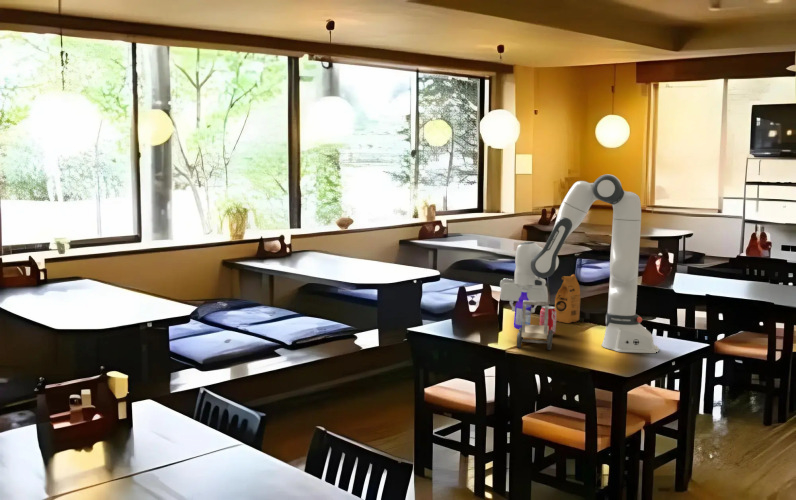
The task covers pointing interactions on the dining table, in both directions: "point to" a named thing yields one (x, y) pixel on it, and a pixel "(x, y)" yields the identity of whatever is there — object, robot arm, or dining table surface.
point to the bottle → (520, 310)
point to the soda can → (549, 318)
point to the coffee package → (568, 300)
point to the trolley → (535, 327)
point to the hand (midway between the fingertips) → (523, 311)
